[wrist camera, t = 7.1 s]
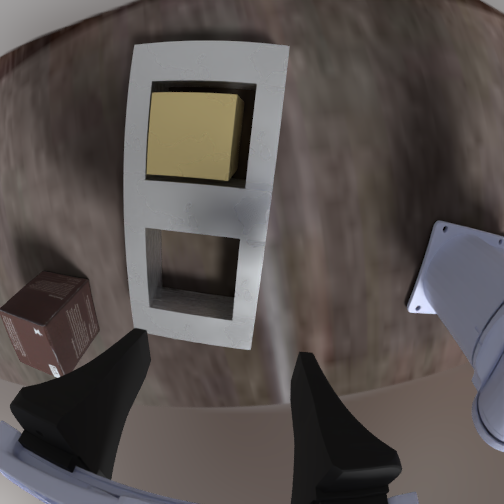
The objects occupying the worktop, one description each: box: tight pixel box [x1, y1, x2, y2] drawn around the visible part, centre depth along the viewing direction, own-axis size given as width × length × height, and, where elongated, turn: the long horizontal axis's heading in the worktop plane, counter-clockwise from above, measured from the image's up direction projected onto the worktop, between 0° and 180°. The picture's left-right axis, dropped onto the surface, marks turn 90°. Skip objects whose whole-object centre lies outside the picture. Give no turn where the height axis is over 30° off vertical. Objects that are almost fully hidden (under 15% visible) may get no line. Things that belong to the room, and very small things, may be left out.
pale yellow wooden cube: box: [147, 92, 245, 181], centre depth 16 cm, size 4×4×4 cm
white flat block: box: [124, 41, 290, 350], centre depth 18 cm, size 9×20×3 cm, turn 174°
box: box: [0, 271, 100, 378], centre depth 21 cm, size 6×6×7 cm
